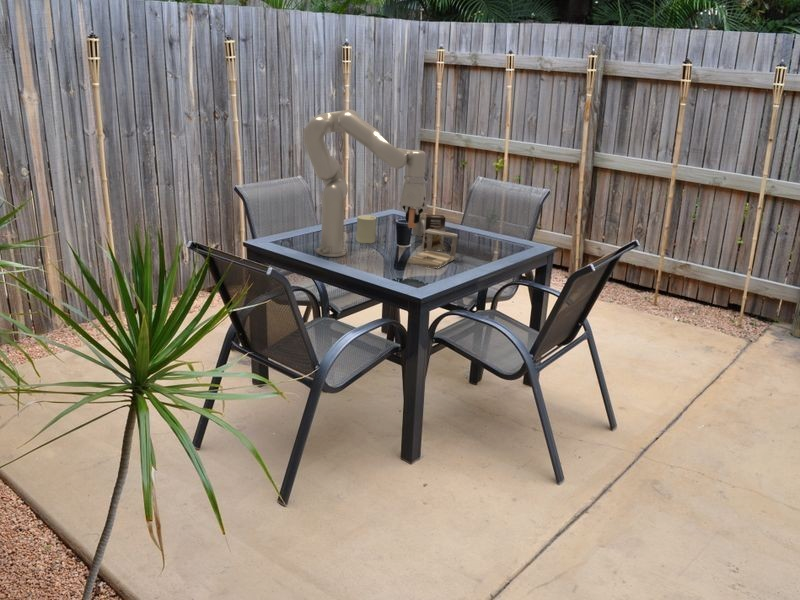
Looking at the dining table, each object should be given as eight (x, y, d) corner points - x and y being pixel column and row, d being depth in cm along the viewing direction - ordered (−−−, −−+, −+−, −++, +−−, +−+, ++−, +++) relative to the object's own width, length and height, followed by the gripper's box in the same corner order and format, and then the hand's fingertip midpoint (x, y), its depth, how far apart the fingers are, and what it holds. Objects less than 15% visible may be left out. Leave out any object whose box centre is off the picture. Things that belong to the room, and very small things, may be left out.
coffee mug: (408, 231, 372) (410, 211, 369) (428, 232, 373) (429, 213, 370) (410, 237, 360) (411, 218, 356) (430, 239, 360) (432, 219, 357)
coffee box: (423, 250, 339) (426, 216, 333) (421, 247, 345) (424, 213, 339) (442, 251, 340) (445, 217, 334) (440, 248, 346) (443, 214, 340)
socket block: (437, 269, 313) (440, 242, 309) (408, 262, 319) (410, 236, 315) (455, 260, 328) (457, 234, 324) (427, 254, 334) (429, 228, 330)
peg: (413, 228, 315) (414, 210, 313) (406, 227, 317) (407, 209, 314) (417, 227, 318) (418, 209, 315) (410, 225, 320) (411, 207, 317)
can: (374, 244, 344) (376, 219, 340) (355, 242, 344) (356, 217, 340) (375, 239, 352) (377, 214, 349) (356, 237, 352) (357, 213, 348)
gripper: (394, 178, 311) (391, 220, 317) (428, 183, 304) (425, 226, 310) (402, 176, 317) (399, 217, 323) (436, 181, 310) (433, 223, 316)
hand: (412, 221), depth 317 cm, fingers closed on peg, 3 cm apart
